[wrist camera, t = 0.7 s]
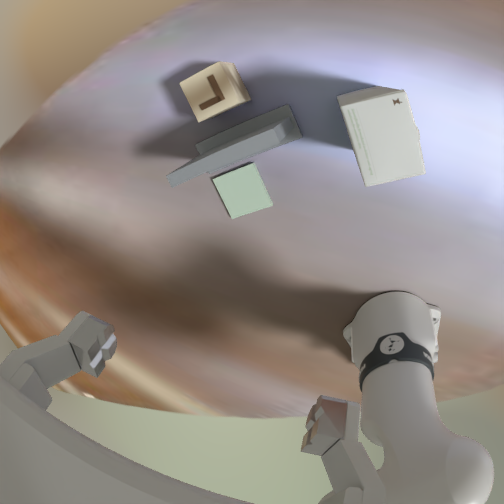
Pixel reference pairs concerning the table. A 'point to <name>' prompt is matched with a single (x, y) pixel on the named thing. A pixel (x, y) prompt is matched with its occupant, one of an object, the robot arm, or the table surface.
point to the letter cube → (215, 90)
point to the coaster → (243, 191)
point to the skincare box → (382, 134)
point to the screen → (240, 143)
